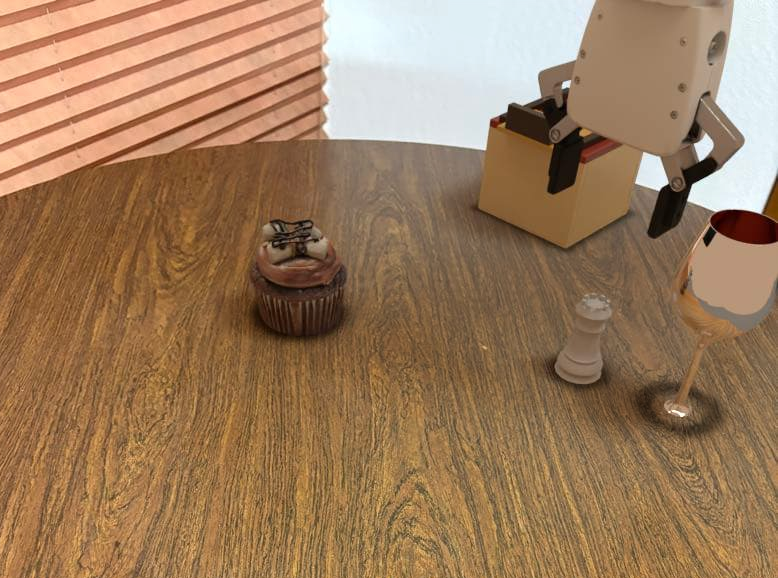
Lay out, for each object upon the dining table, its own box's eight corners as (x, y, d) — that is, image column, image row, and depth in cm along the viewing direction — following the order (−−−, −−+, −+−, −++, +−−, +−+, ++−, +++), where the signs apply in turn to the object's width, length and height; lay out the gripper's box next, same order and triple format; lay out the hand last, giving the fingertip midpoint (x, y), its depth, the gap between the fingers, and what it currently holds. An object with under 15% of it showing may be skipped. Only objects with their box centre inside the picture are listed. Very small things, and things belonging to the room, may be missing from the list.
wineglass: (624, 425, 77) (686, 239, 64) (639, 375, 83) (699, 193, 69) (717, 449, 76) (800, 263, 62) (725, 397, 81) (803, 214, 68)
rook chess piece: (609, 378, 82) (632, 305, 76) (575, 393, 80) (595, 319, 74) (577, 355, 85) (596, 282, 79) (543, 369, 83) (560, 295, 77)
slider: (534, 113, 98) (539, 85, 96) (593, 136, 94) (599, 107, 92) (496, 130, 94) (500, 101, 92) (555, 154, 91) (561, 124, 88)
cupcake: (360, 335, 85) (364, 241, 78) (266, 351, 83) (260, 255, 75) (330, 285, 91) (331, 193, 84) (241, 299, 89) (234, 206, 81)
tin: (540, 179, 111) (558, 83, 102) (626, 216, 105) (653, 117, 97) (477, 211, 104) (491, 111, 96) (564, 251, 98) (587, 149, 90)
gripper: (818, -13, 56) (726, 235, 68) (596, -70, 63) (549, 162, 76) (765, 8, 52) (677, 267, 64) (535, -56, 60) (497, 186, 72)
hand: (608, 210), depth 70 cm, fingers open, 9 cm apart
